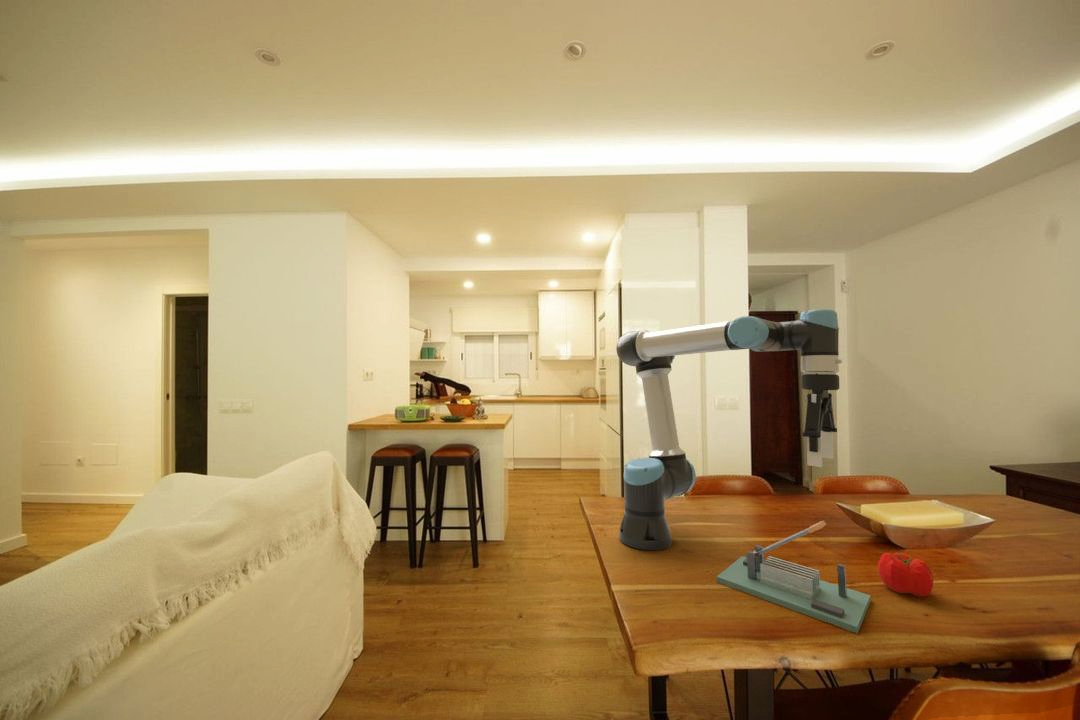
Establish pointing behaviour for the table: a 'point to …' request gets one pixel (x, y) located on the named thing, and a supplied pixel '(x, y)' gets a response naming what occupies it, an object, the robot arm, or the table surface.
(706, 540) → the table surface
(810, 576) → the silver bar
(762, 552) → the silver flat strip
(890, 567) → the tomato
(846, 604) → the board
